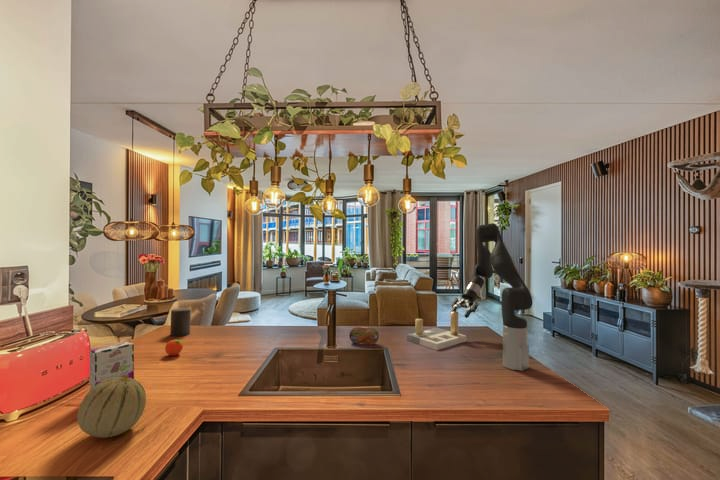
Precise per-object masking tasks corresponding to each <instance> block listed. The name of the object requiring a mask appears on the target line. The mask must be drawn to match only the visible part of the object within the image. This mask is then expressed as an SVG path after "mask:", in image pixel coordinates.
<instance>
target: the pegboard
mask: <svg viewBox="0 0 720 480" xmlns="http://www.w3.org/2000/svg"><path fill="white" fill-rule="evenodd" d="M414 321H415V322H414V323H415V325H414V327H415V330H414V331H415V332H412V333H407V334H406V341H409V342H412V343H415V344H418V345H421V346H424V347H426V348H430V349H432V350H435V351H440V350H442V349H446V348H449V347H452V346H455V345H458V344H462V343H465V342H467V335H465V334H462V333H458V335H457V336H454V335H451V334H450V330H447V329H443V328H439V327H432V328H428V329H424V319H423V318H415V320H414Z"/></svg>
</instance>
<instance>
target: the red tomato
mask: <svg viewBox="0 0 720 480" xmlns="http://www.w3.org/2000/svg"><path fill="white" fill-rule="evenodd" d="M183 343H184V342H182V341H181V340H180V339H172V340H169V341H168V342H167V343H166V344H165V346H164V347H165V349H164V350H165V353H166V354H167V355H169V356H177V355H179V354H180V353H181V352H182V350H183V348H184V344H183Z"/></svg>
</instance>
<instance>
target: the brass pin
mask: <svg viewBox="0 0 720 480" xmlns="http://www.w3.org/2000/svg"><path fill="white" fill-rule="evenodd" d="M449 331H450V334H451V335H454V336H457V335H458V334H459V311H457V310H456V311H452V310H450V330H449Z"/></svg>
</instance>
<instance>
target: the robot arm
mask: <svg viewBox="0 0 720 480" xmlns="http://www.w3.org/2000/svg"><path fill="white" fill-rule="evenodd" d="M475 241H476V242H475V243H476V250H477V263H476V264H475V266H474V268H473V274H472V277H471V280H469V283H468V284H467V285H466V287H465V288H464V291H463V292H462V294H461V298H458V297H455V298H454V300H453V301H452V303H451V304H450V305H451V307H452V309H451V311H456V312H457V310H459V309H461V308H464V309H467V310H466V312H465V314H464V317H465V319H468V318H469V317H470V315H471V314H472V313H474V314H475V313H476V312H477V309H478V307H479V303H478V301H477V298H478V296H479V295H480V292H481V290H482V288H483V286H484V284H485V280H484V279H487V280H488V279H490V278H491V277H493V275H494V272H495V273H496V275H497V276H499V277H500V278H501V279H503V280H504V281H505V282H506V283H507V284H508V285H510V287H504V288H503V289H502V291H501V318H502V366H503V368H507V369H509V370H513V371H520V372H524V371H525V370H527V369H529V368H530V345H529V344H528V321H527V320H526V319H525V318H523V317H520V316H517V315H516V313H515V311H518V310H519V311H525V310H526V311H527V310H530V309H531V308H532V306H533V297H532V294H531V292H530V290H529V288H528V287H527V285H526V283H525V282H524V279H522V277H521V275H520V273H519V271H518V270H517V267H516V266H515V263H514V261H513V258H512V256H511V255H510V253H509V251H508V248H507V247H506V244H505V242H504V240H503V237H502V235H501V231H500V229H499V227H498V225H497V224H496V223H495V222H494V223H493V222H492V223H486V224H479V225H476V227H475ZM490 242H494V246H493V249H492V250H491V251H490V250H489V248H487V247H486V246H485V244H484V243H490ZM483 278H484V279H483Z"/></svg>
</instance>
